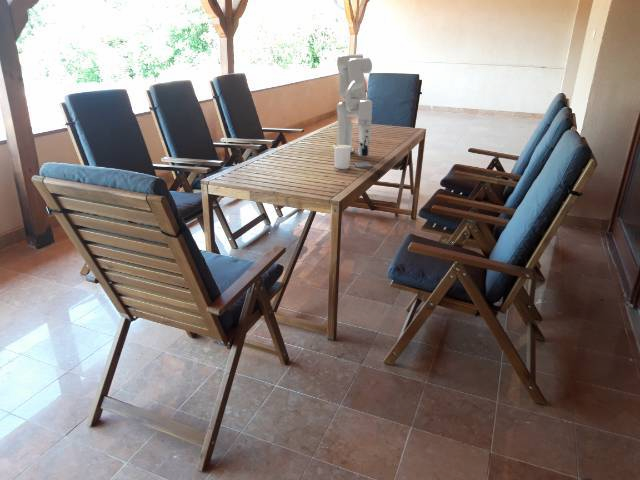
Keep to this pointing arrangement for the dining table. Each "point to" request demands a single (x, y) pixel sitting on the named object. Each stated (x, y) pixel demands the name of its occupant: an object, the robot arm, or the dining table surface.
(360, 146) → the letter block
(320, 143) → the dining table surface
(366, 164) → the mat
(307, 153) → the dining table surface
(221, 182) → the dining table surface
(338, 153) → the candle holder
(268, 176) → the dining table surface
